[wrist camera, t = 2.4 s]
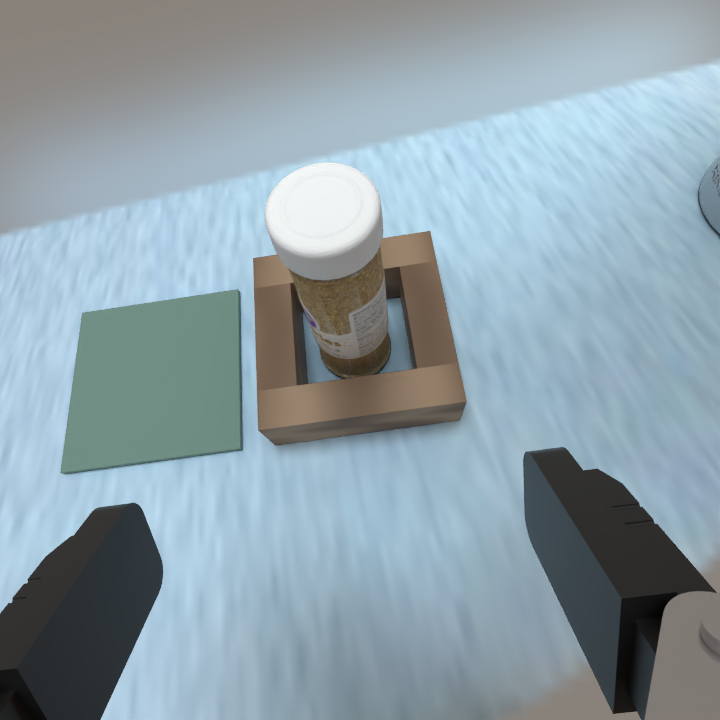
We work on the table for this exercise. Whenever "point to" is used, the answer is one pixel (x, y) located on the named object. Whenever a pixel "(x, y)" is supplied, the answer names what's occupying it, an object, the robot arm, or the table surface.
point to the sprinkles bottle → (335, 262)
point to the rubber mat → (156, 383)
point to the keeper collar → (366, 393)
